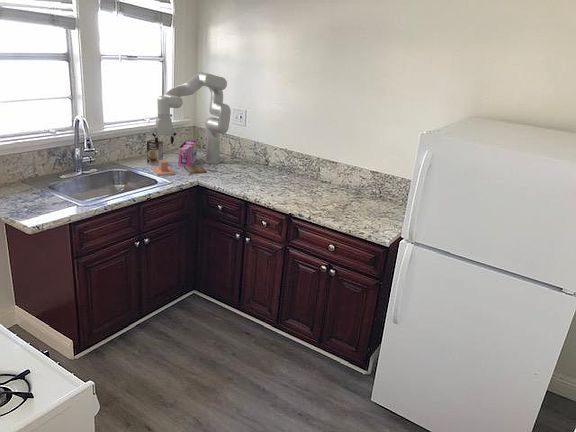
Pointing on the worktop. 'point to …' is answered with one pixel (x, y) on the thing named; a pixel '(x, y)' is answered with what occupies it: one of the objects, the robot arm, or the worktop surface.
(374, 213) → the worktop surface
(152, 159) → the coffee box
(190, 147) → the gum box
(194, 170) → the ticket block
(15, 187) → the worktop surface
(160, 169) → the stub
